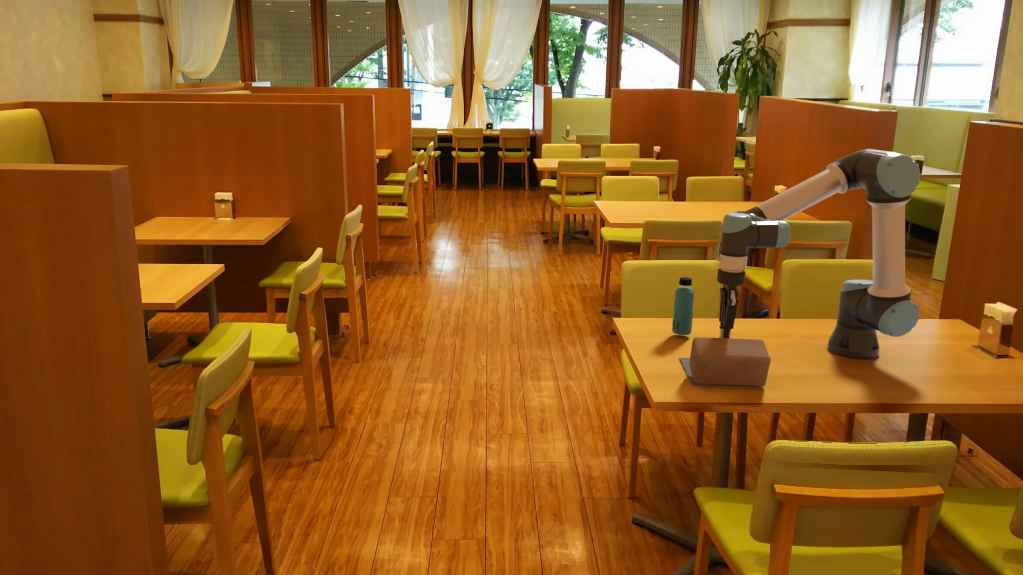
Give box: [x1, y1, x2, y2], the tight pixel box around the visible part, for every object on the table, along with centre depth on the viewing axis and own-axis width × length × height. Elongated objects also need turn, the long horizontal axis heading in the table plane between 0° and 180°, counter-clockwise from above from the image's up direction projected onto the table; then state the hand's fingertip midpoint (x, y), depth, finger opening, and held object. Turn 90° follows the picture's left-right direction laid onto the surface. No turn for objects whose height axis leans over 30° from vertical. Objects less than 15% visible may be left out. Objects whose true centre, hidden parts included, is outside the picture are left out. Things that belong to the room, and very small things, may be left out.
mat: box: [678, 357, 762, 390], centre depth 238 cm, size 19×22×1 cm
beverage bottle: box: [671, 276, 696, 336], centre depth 267 cm, size 6×7×20 cm
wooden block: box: [689, 336, 772, 388], centre depth 229 cm, size 10×10×20 cm
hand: (723, 349), depth 233 cm, fingers closed
